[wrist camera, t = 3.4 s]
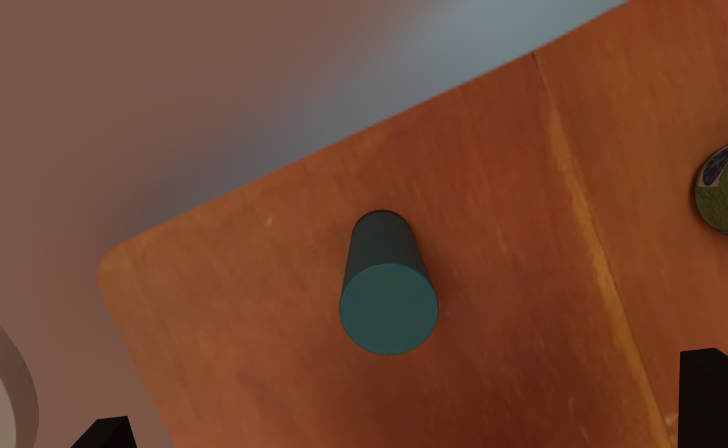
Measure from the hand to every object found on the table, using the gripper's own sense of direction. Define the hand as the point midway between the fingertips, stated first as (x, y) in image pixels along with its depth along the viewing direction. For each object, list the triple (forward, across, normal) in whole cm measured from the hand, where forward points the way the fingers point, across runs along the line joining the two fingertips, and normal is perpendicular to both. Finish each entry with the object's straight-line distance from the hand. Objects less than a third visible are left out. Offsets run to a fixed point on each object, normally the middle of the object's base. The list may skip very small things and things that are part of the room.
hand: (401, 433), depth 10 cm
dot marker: (+18, 0, 0) cm, 18 cm away
